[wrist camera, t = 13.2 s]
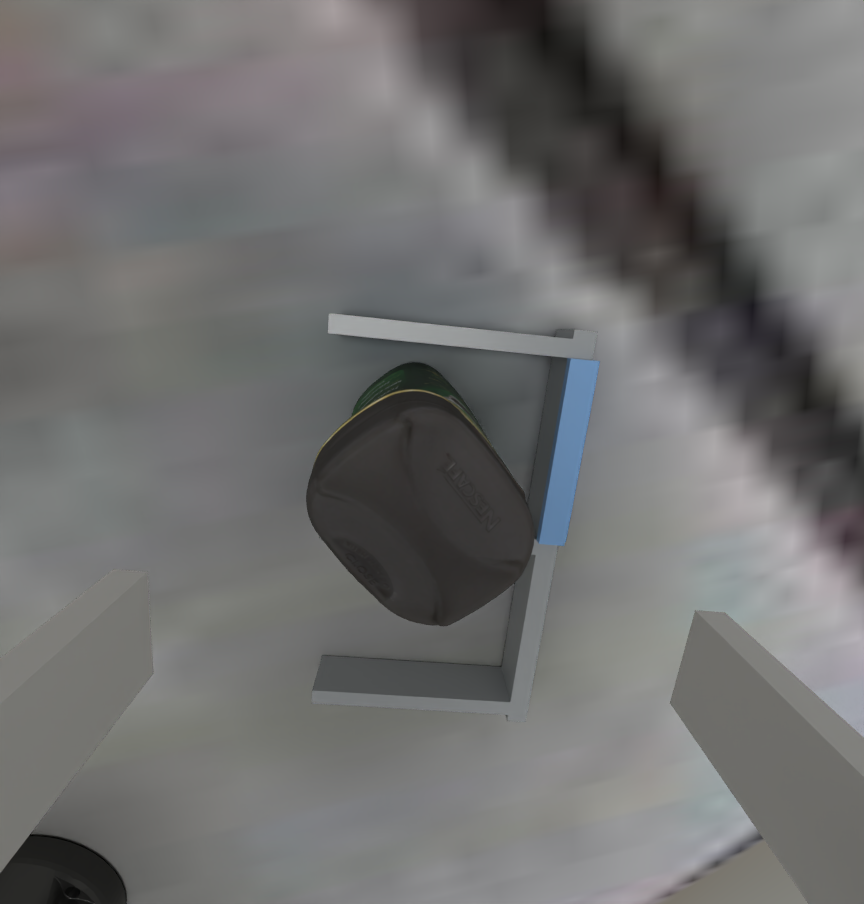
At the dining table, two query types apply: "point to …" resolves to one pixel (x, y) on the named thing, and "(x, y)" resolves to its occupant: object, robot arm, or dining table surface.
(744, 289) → the dining table surface
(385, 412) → the coffee jar
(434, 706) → the divided storage rack
